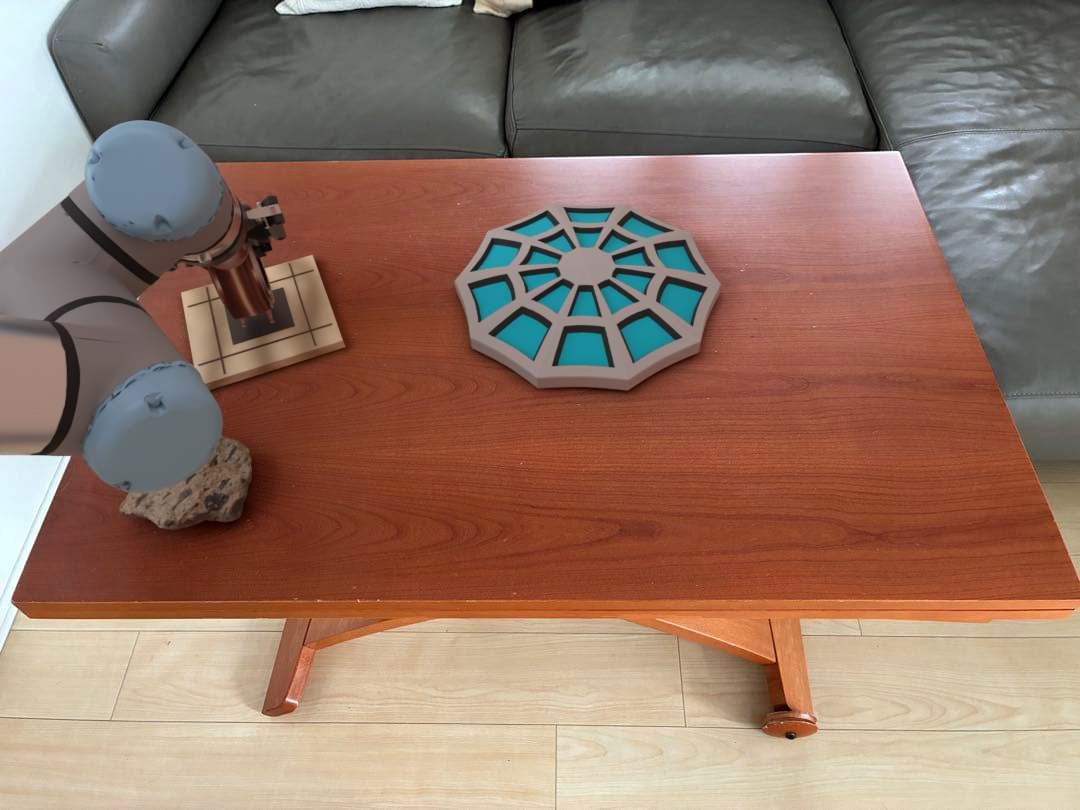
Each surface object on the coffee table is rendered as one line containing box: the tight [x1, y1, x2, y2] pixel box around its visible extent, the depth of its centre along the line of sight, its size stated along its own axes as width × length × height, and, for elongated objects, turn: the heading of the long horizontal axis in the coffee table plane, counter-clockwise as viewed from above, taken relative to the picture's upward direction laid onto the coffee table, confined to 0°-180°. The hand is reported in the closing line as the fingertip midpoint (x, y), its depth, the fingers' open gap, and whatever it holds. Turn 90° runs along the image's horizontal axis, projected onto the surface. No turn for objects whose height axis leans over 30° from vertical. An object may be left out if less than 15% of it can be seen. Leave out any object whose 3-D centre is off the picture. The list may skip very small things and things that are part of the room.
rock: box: [118, 434, 253, 531], centre depth 73 cm, size 11×11×4 cm
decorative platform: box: [454, 203, 722, 392], centre depth 88 cm, size 31×29×5 cm
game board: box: [180, 254, 346, 391], centre depth 89 cm, size 16×16×1 cm
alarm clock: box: [207, 244, 274, 328], centre depth 82 cm, size 11×5×15 cm, turn 22°
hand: (234, 252), depth 86 cm, fingers closed on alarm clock, 5 cm apart
